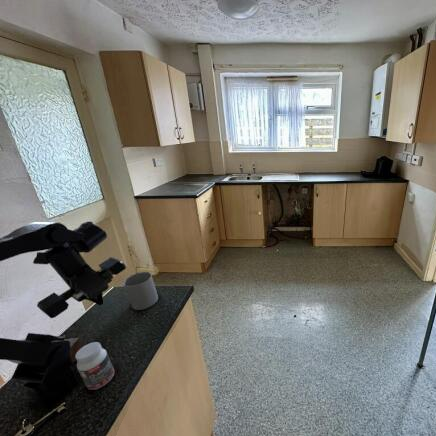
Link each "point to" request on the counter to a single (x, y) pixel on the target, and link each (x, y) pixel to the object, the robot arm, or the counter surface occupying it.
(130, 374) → the counter surface
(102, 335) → the counter surface
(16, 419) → the counter surface
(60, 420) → the counter surface
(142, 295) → the cup
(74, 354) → the walnut block
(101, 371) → the pill bottle
